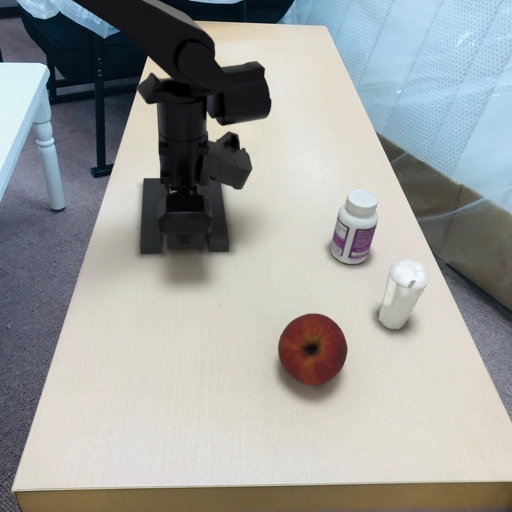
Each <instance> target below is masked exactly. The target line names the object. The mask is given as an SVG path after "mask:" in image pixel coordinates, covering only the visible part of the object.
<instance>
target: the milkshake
mask: <svg viewBox="0 0 512 512" xmlns="http://www.w3.org/2000/svg"><path fill="white" fill-rule="evenodd" d="M429 282H430V273H429V271H428V269H427V268H426V267H425V266H424V264H423V263H420V262H419V261H417V260H414V259H413V260H412V259H409V258H405V259H400V260H396V261H394V262H392V264H390V266H389V270H388V275H387V279H386V284H385V289H384V293H383V297H382V301H381V305H380V308H379V309H380V310H379V312H378V321H379V322H380V323H381V325H382V326H383V327H385V328H387V329H389V330H400V329H401V328H403V327H404V326H405V324H406V323H407V320H409V317H410V316H411V313H412V312H413V310H414V308H415V307H416V304H417V303H418V302H419V299H420V298H421V296H422V295H423V293H424V291H425V289H426V288H427V287H428V285H429Z"/></svg>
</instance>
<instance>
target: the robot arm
mask: <svg viewBox="0 0 512 512" xmlns="http://www.w3.org/2000/svg"><path fill="white" fill-rule="evenodd" d="M71 1H72V2H73V3H75V4H77V5H78V6H80V7H81V8H83V9H85V10H86V11H87V12H89V13H91V14H92V15H94V16H95V17H97V18H98V19H100V20H102V21H104V22H105V23H107V24H108V25H109V26H112V28H114V29H116V30H118V31H119V32H121V33H122V34H124V35H125V36H126V37H127V38H128V39H129V40H131V41H132V42H133V43H134V45H136V46H137V47H138V48H139V49H140V50H141V51H142V52H143V53H144V54H145V55H146V56H147V57H148V58H149V59H150V60H151V61H152V62H153V63H154V64H155V65H157V66H158V67H159V68H160V69H161V70H162V71H163V72H164V73H165V74H167V75H168V76H169V77H163V78H162V77H161V78H160V77H158V76H157V75H156V74H155V73H154V72H149V74H148V76H147V77H146V78H145V79H144V80H142V81H141V82H140V83H139V84H138V85H137V86H136V91H137V92H138V94H139V95H140V97H141V98H142V100H143V101H144V102H145V103H146V105H156V117H157V136H158V137H157V139H158V140H157V141H158V142H157V149H158V151H157V153H158V160H159V178H160V184H164V186H165V188H166V190H167V192H168V195H166V196H164V197H163V198H162V199H161V200H160V201H158V225H159V232H161V235H165V236H166V234H174V235H175V236H176V238H177V239H178V241H179V242H180V243H181V244H189V243H190V240H191V237H192V234H204V235H205V234H207V233H209V232H210V231H212V209H211V201H210V200H209V199H208V198H206V197H205V196H204V195H202V194H199V193H198V184H199V186H210V179H211V180H213V181H215V182H218V183H221V185H224V186H225V185H226V186H228V187H232V189H234V190H238V191H241V190H243V188H244V187H245V184H246V182H247V181H248V179H249V177H250V175H251V173H252V171H253V165H252V160H251V156H250V154H249V152H247V150H246V147H241V141H240V136H239V134H238V133H235V132H233V131H227V132H226V133H225V134H223V135H222V136H220V137H219V138H217V139H216V140H215V141H213V140H209V131H208V129H207V128H208V124H207V123H208V116H209V117H210V118H211V119H212V120H215V121H216V123H218V125H220V126H221V127H226V126H231V125H237V124H242V123H247V122H248V123H249V122H255V121H261V120H265V119H267V118H268V117H269V115H270V113H271V111H272V110H271V109H272V105H273V104H272V103H273V102H272V98H271V93H270V88H269V84H268V81H267V79H266V76H265V75H266V68H265V66H263V65H262V64H261V63H260V62H259V61H257V60H254V61H247V62H245V63H242V64H234V65H226V66H221V65H220V64H219V63H218V62H217V60H216V43H215V41H214V39H213V38H212V37H211V35H210V34H208V33H207V32H206V30H204V29H203V28H202V27H201V26H200V25H199V24H198V23H196V22H195V21H194V20H193V19H192V18H191V17H190V16H189V15H188V14H186V13H184V11H182V10H179V9H176V8H175V7H173V6H171V5H168V4H167V3H164V2H162V1H160V0H71Z"/></svg>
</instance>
